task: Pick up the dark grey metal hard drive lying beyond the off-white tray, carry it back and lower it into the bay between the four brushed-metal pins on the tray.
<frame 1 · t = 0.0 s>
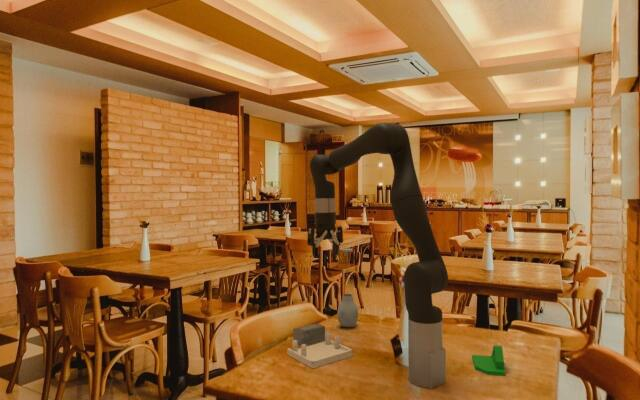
hand: (325, 256, 160), 29 cm above the table, tool pointing down, fingers open, 8 cm apart
drive: (309, 341, 158), on the table
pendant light: (347, 327, 173), on the table
bracket: (487, 368, 134), on the table
tray: (320, 355, 144), on the table
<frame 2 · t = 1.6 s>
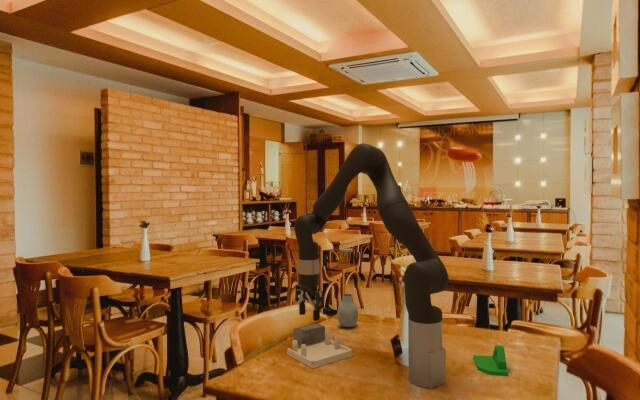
hand: (309, 317, 158), 8 cm above the table, tool pointing down, fingers open, 8 cm apart
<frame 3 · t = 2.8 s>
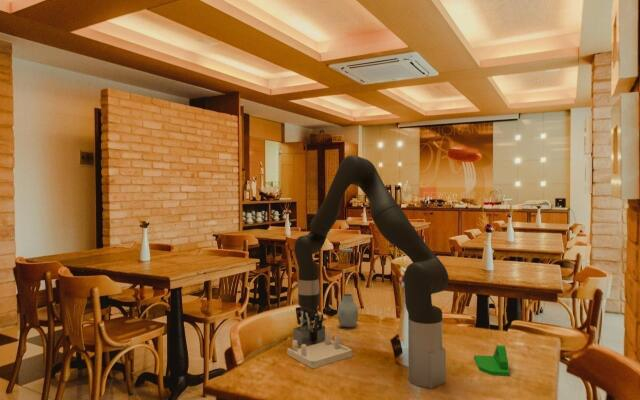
hand: (309, 339, 158), 1 cm above the table, tool pointing down, fingers closed on drive, 5 cm apart
drive: (309, 341, 158), on the table, touching gripper
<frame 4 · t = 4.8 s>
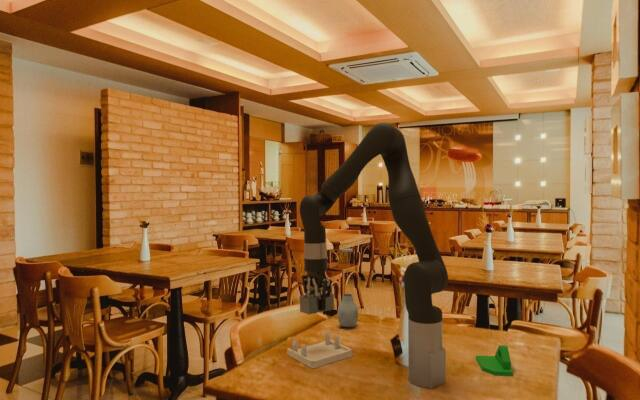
hand: (317, 308, 146), 15 cm above the table, tool pointing down, fingers closed on drive, 5 cm apart
drive: (317, 310, 146), point 14 cm above the table, touching gripper
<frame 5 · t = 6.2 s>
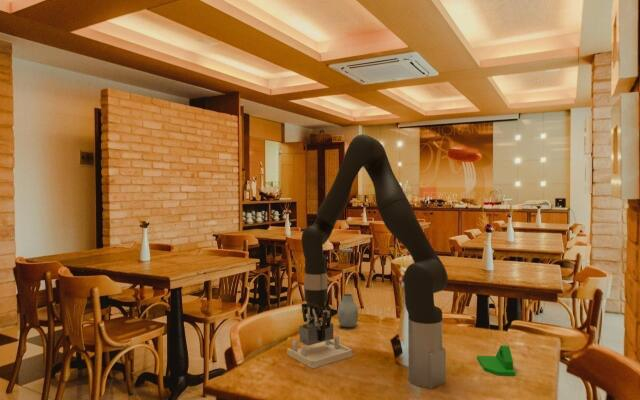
hand: (316, 338, 146), 5 cm above the table, tool pointing down, fingers closed on drive, 5 cm apart
drive: (316, 340, 146), point 4 cm above the table, touching gripper
when the fingers open (3 cm above the table, at t = 7.0 s): drive drops 1 cm, resting on tray.
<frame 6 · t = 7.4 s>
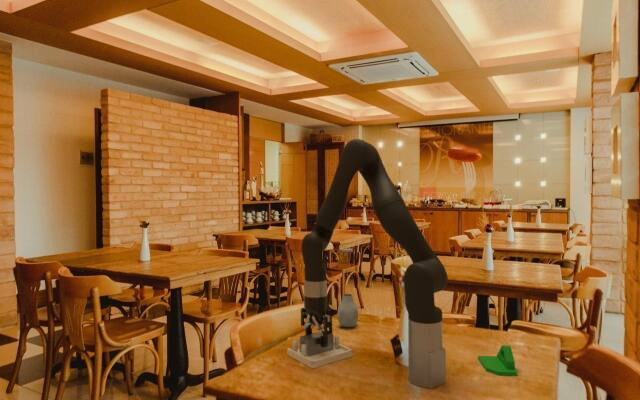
hand: (316, 343, 146), 3 cm above the table, tool pointing down, fingers open, 8 cm apart
drive: (316, 350, 146), point 1 cm above the table, touching tray
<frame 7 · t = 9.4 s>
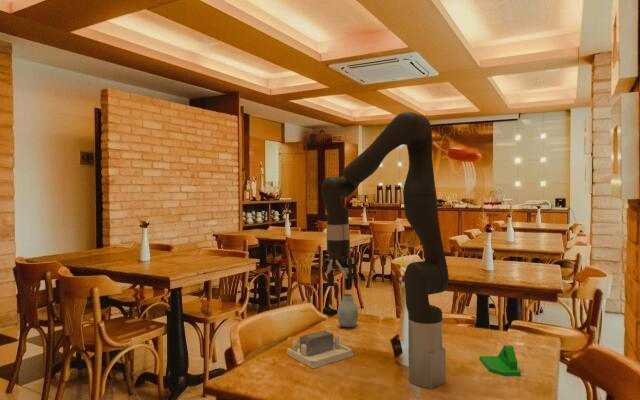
hand: (339, 287, 146), 21 cm above the table, tool pointing down, fingers open, 8 cm apart
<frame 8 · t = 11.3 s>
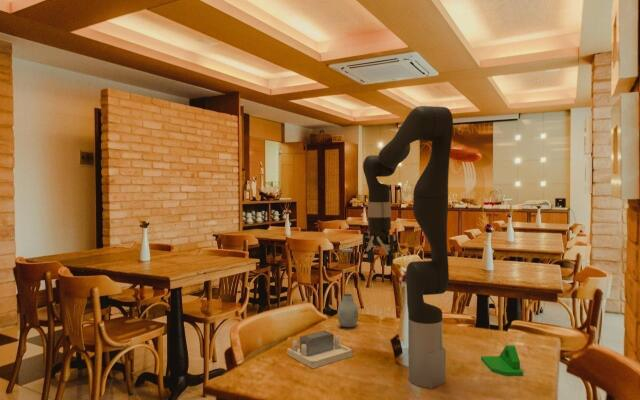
hand: (379, 264, 150), 28 cm above the table, tool pointing down, fingers open, 8 cm apart
at the end: drive 0.1 cm from the target spot on the tray, point 1.0 cm above the tray's base; drive tilted 0°; the gripper is holding nothing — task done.
